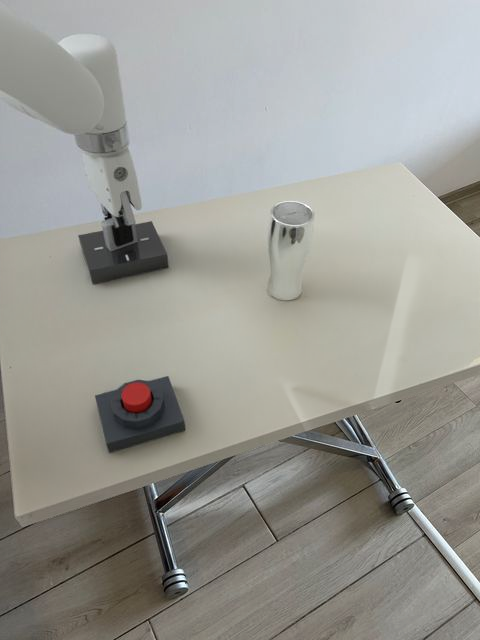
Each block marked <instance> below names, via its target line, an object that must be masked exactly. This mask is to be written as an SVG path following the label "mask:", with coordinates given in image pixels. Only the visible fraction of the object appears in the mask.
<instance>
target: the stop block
mask: <svg viewBox="0 0 480 640" xmlns="http://www.w3.org/2000/svg"><path fill="white" fill-rule="evenodd" d="M132 383H143V384H145V385H147V386H148V387H149V389H150V393H151V398H152V402H151V405H150V406H149V408H148V409H146V410H145V411H143V412H140V413H132V412H129V411H128V410H126V409H125V407H124V405H123V401H122V397H121V394H122V391H123V389H124V388H125V387H126V386H128V385H129V384H132ZM94 398H95V402H96V406H97V411H98V414H99V419H100V422H101V427H102V431H103V435H104V440H105V443H106V447H107V451H108V453H109V454H111V453H115V452H117V451H118V452H119V451H121V450H124V449H128V448H131V447H134V446H137V445H141V444H144V443H147V442H151V441H155V440H157V439H161V438H164V437H168V436H171V435H175V434H177V433H181V432H184V431H186V423H185V419H184V415H183V413H182V410H181V408H180V405H179V402H178V399H177V396H176V394H175V390H174V388H173V385H172V383H171V378H170V377H169V375H166V376H162V377H158V378H155V379H151V380H143V379H135V380H132V381H127V382H124V383H123V384H122V385H121V386H119V387H118V388H117V389H114V390H113V389H112V390H110V391H106V392H102V393H98V394H95V395H94Z"/></svg>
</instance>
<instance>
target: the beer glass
mask: <svg viewBox="0 0 480 640" xmlns="http://www.w3.org/2000/svg"><path fill="white" fill-rule="evenodd" d="M269 213H270V215H269V220H268V227H267V238H266V239H267V241H266V243H267V253H268V261H269V275H268V279H267V282H266V291H267V293H268V295H269V296H271V297H272V298H274V299H275V300H279V301H284V302H286V301H293V300H295V299H296V300H297V299H298V298H300V296H301V295H302V293H303V281H302V277H303V273H304V269H305V266H306V263H307V261H308V258H309V255H310V251H311V249H312V244H313V237H314V230H315V212H314V209H313V208H312V207H311V206H309V205H308V204H306V203H304V202H301V201H299V200H298V201H297V200H282V201H280V202H277V203H275V204H274V205H273V206H271V208H270V212H269Z"/></svg>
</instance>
